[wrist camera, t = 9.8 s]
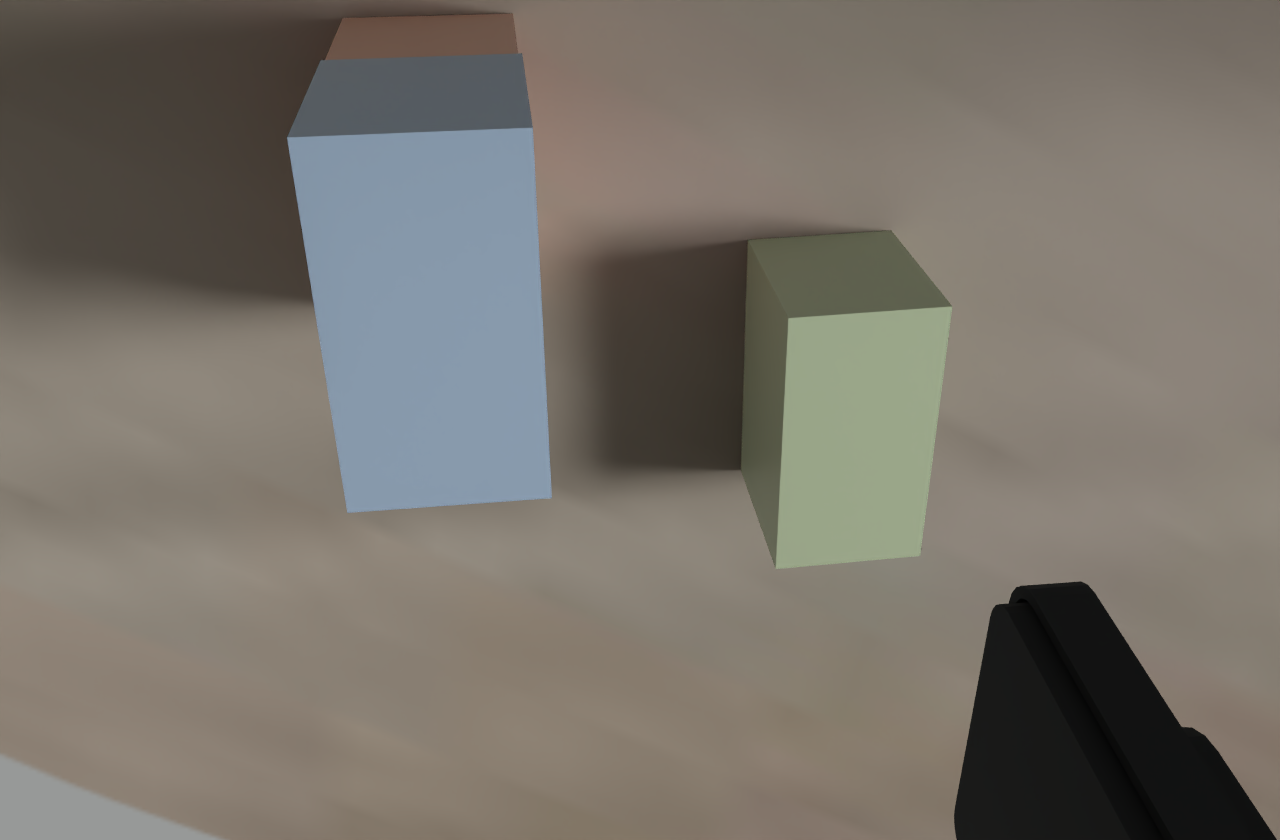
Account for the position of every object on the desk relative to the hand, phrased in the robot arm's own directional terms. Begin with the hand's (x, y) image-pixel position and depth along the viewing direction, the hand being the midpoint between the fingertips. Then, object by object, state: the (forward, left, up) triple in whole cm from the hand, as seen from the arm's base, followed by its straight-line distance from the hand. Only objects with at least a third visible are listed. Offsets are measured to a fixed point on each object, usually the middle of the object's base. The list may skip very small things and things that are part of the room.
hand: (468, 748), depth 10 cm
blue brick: (+1, 0, -12) cm, 12 cm away
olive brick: (-7, +5, -16) cm, 19 cm away
